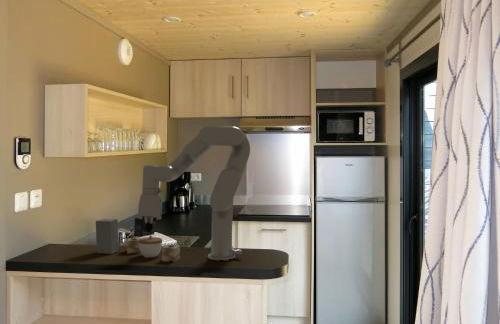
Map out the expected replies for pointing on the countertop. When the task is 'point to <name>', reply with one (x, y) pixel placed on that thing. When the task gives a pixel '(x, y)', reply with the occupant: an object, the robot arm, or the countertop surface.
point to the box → (142, 227)
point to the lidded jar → (150, 246)
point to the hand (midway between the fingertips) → (149, 231)
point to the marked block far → (133, 245)
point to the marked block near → (170, 253)
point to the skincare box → (107, 236)
